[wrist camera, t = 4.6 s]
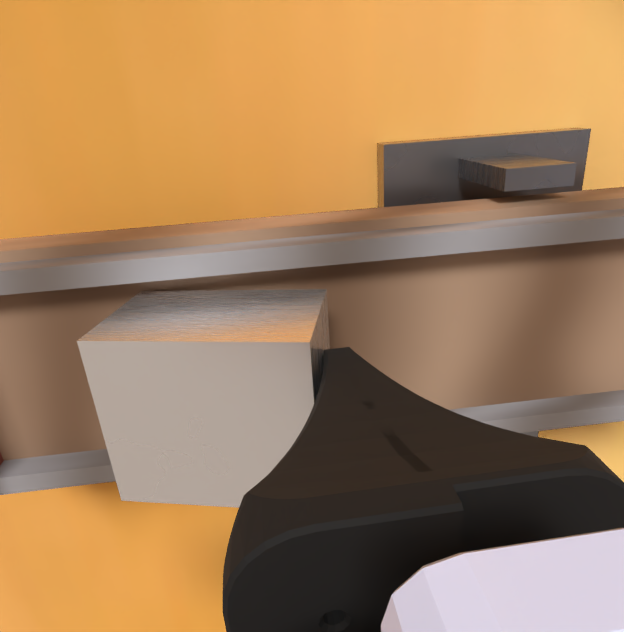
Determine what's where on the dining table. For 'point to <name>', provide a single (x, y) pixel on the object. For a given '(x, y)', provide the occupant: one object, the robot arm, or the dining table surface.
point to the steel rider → (204, 388)
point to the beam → (338, 311)
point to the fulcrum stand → (481, 168)
